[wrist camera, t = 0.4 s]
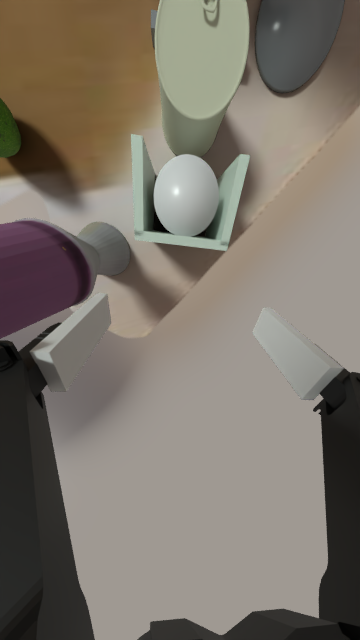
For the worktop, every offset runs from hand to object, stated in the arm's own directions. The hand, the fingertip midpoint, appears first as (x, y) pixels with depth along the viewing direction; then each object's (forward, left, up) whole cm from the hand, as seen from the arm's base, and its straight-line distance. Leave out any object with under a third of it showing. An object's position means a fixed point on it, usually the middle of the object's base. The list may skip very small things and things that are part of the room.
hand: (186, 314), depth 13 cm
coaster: (-31, +13, -26) cm, 43 cm away
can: (-21, 0, -26) cm, 34 cm away
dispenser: (-16, 0, -26) cm, 31 cm away
